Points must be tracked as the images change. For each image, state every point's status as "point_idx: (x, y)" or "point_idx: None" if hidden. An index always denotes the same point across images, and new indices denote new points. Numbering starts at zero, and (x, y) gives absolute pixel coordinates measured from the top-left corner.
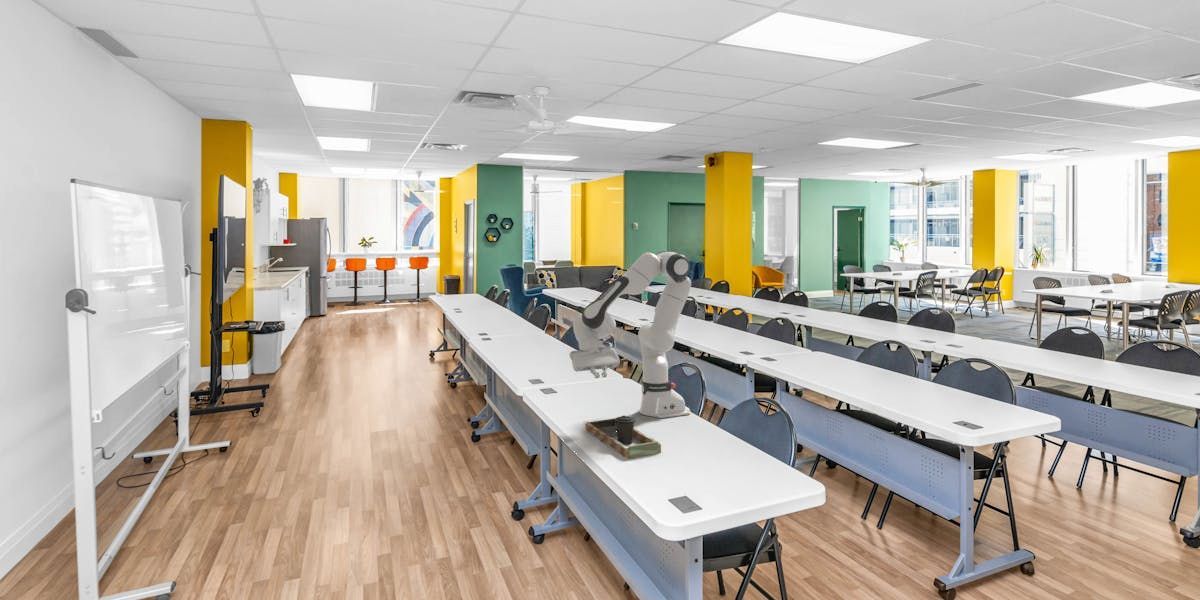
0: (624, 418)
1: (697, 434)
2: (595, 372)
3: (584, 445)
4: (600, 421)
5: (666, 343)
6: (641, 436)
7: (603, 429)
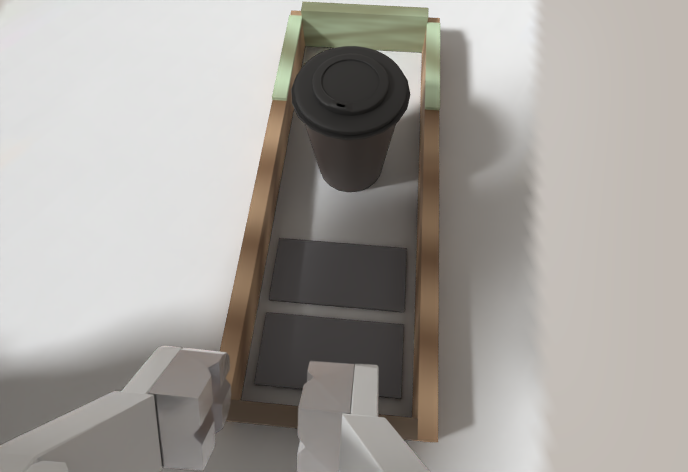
0: (357, 75)
1: (31, 106)
2: (375, 419)
3: (532, 223)
4: None
5: None
6: (285, 118)
7: None
